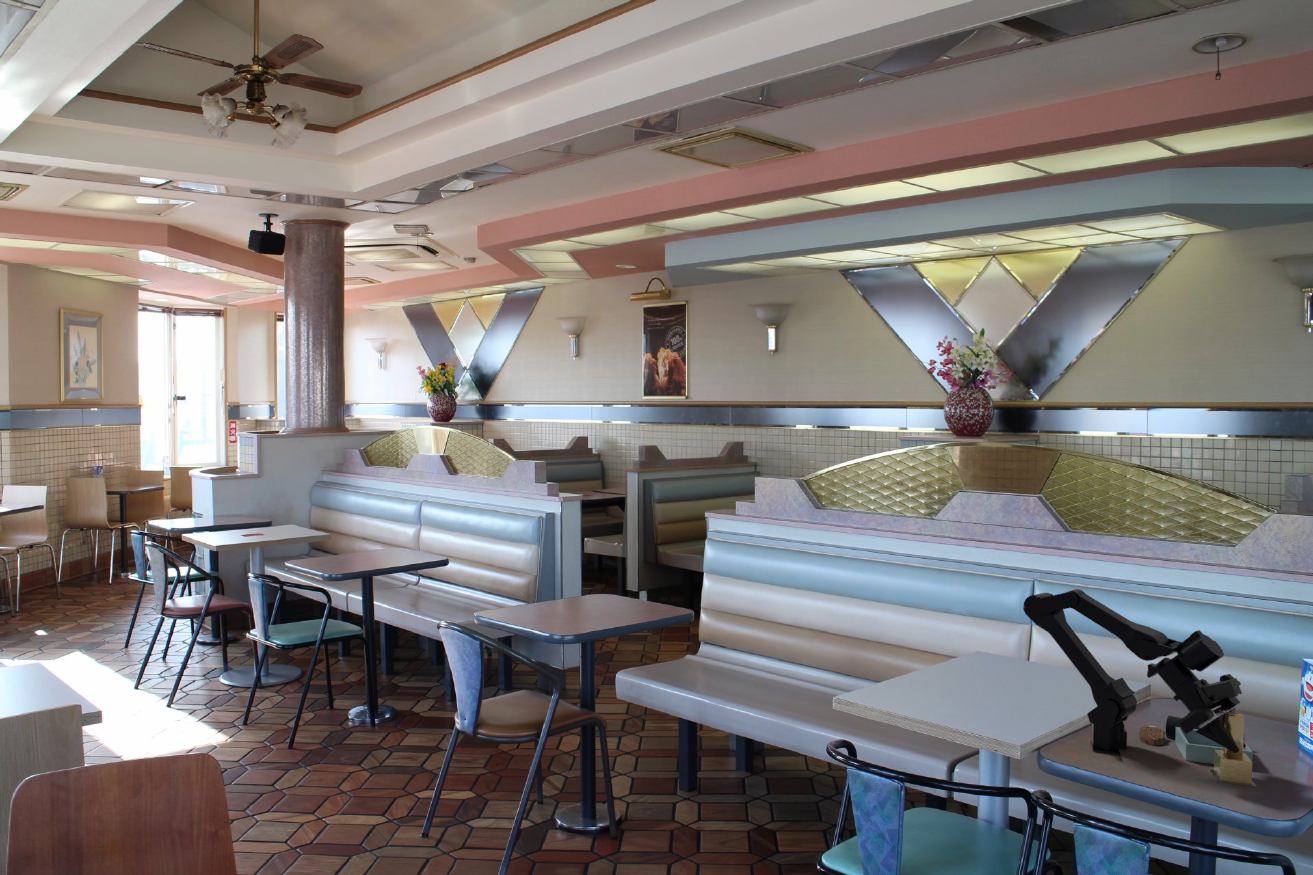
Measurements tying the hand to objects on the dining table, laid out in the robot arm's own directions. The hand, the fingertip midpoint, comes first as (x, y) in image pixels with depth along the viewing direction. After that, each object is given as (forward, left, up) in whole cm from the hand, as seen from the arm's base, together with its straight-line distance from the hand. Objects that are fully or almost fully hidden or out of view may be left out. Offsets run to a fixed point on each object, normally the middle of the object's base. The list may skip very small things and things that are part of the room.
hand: (1241, 749), depth 192 cm
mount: (-1, +1, -7) cm, 7 cm away
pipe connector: (0, +29, -8) cm, 30 cm away
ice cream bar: (-13, +24, -8) cm, 28 cm away
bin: (-2, +15, -7) cm, 16 cm away
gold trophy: (-1, +1, -6) cm, 6 cm away
